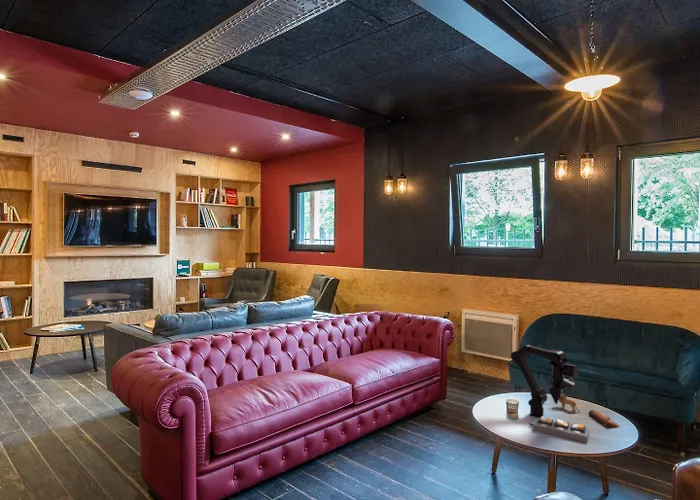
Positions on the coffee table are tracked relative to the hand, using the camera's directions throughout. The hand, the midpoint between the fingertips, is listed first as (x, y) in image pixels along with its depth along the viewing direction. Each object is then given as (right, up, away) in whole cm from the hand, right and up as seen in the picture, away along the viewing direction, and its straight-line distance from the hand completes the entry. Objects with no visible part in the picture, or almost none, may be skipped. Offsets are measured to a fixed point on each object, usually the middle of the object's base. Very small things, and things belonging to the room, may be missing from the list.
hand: (557, 401), depth 255 cm
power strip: (-6, -12, -13) cm, 19 cm away
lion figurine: (+14, -12, +19) cm, 26 cm away
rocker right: (+3, -9, -16) cm, 19 cm away
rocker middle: (-3, -9, -12) cm, 15 cm away
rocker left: (-10, -9, -7) cm, 15 cm away
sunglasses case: (+27, -12, +1) cm, 30 cm away
